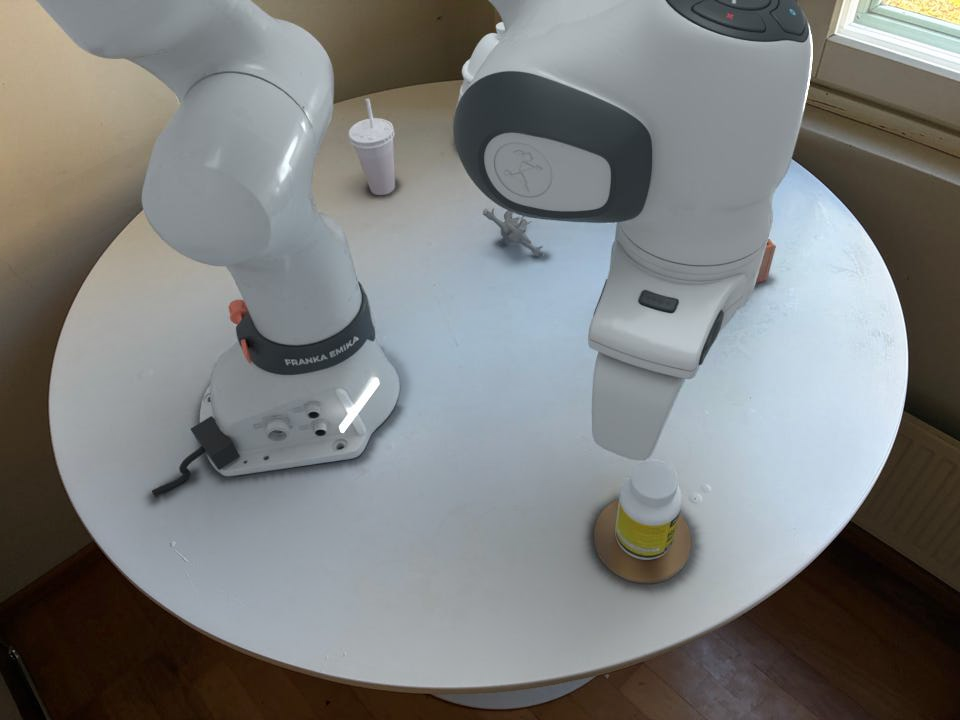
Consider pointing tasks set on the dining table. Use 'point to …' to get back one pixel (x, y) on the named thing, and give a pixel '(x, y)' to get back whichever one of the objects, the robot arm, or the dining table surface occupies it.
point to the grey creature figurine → (514, 230)
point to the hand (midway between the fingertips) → (659, 395)
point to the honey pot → (480, 56)
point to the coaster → (632, 566)
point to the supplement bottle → (648, 510)
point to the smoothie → (375, 151)
